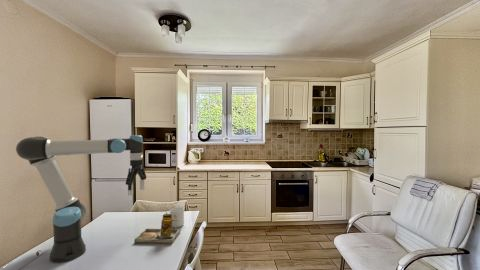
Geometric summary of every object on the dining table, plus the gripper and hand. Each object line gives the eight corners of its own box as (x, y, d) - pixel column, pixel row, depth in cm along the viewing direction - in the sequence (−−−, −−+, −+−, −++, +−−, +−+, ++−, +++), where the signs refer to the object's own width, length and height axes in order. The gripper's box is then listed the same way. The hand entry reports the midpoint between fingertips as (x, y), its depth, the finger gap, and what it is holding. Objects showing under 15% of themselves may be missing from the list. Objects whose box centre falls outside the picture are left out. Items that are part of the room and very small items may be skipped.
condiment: (161, 237, 131) (163, 216, 132) (157, 234, 138) (159, 213, 139) (173, 236, 135) (175, 215, 136) (169, 232, 142) (171, 212, 143)
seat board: (171, 244, 130) (171, 239, 130) (134, 243, 132) (134, 239, 132) (179, 232, 144) (179, 229, 144) (146, 232, 146) (145, 228, 146)
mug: (185, 222, 160) (185, 207, 160) (182, 228, 151) (181, 211, 151) (168, 222, 160) (167, 207, 160) (164, 228, 151) (163, 211, 151)
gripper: (130, 162, 134) (131, 198, 134) (151, 157, 159) (151, 187, 159) (118, 161, 135) (119, 197, 135) (141, 156, 159) (141, 187, 160)
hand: (136, 192), depth 147 cm, fingers open, 13 cm apart
